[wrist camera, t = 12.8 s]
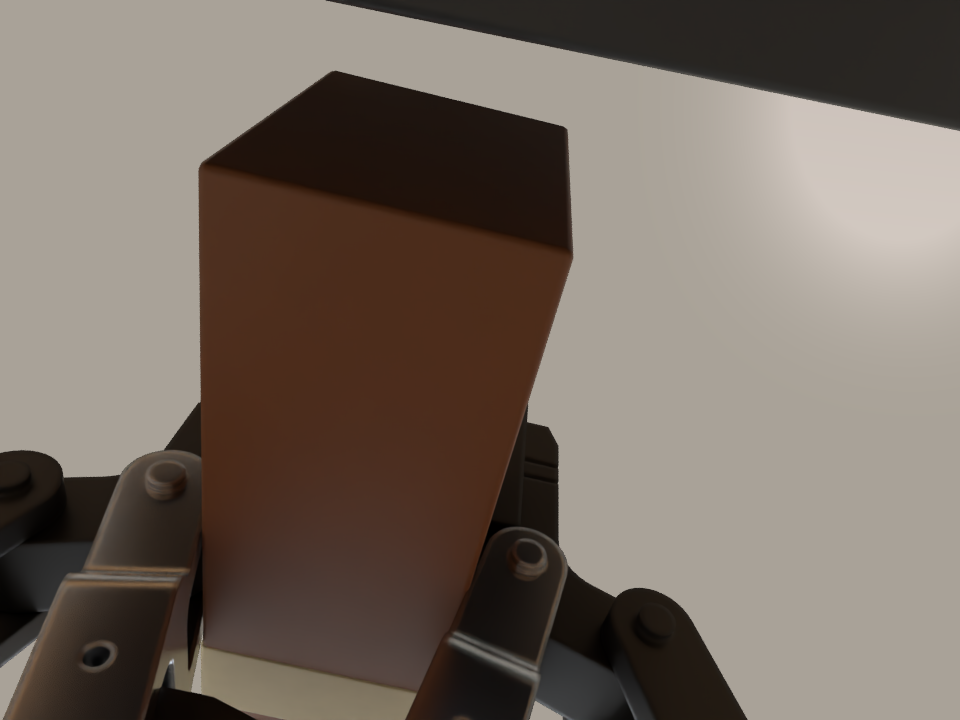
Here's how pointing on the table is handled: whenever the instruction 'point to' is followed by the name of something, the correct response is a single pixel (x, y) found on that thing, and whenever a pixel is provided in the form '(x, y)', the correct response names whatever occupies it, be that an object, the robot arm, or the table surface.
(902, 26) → the trash can
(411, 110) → the chocolate box
